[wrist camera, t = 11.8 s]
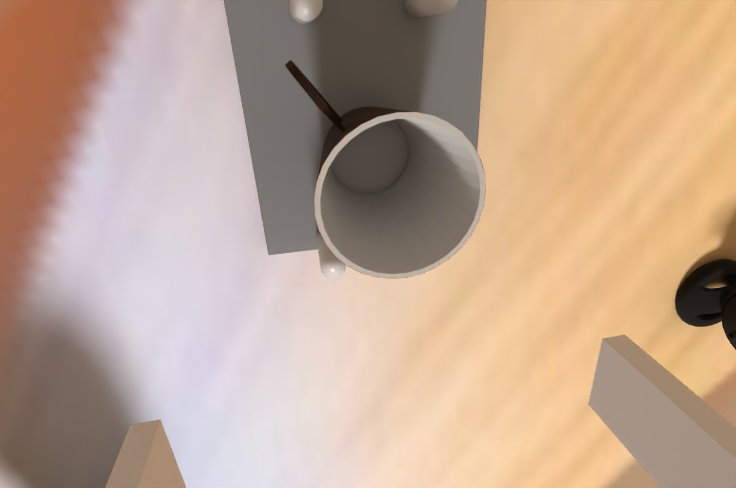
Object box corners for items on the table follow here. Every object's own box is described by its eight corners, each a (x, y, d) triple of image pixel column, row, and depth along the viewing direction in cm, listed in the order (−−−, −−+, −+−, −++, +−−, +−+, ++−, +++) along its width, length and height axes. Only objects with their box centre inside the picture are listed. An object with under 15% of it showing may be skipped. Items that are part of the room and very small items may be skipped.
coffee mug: (436, 193, 32) (493, 252, 23) (326, 224, 32) (340, 297, 23) (407, 23, 27) (467, 15, 18) (274, 59, 26) (267, 69, 17)
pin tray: (269, 248, 33) (265, 290, 27) (225, -6, 25) (207, -18, 20) (466, 224, 35) (499, 259, 29) (480, -17, 27) (528, -31, 22)
